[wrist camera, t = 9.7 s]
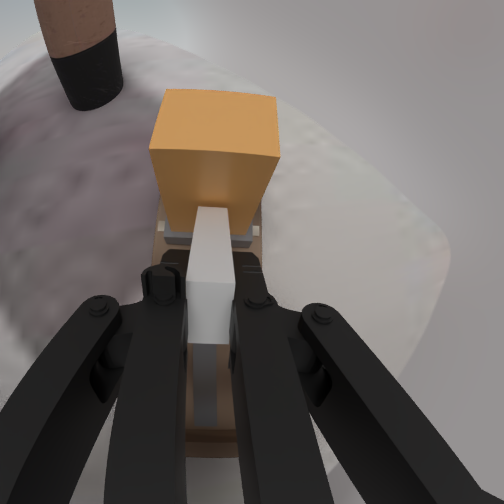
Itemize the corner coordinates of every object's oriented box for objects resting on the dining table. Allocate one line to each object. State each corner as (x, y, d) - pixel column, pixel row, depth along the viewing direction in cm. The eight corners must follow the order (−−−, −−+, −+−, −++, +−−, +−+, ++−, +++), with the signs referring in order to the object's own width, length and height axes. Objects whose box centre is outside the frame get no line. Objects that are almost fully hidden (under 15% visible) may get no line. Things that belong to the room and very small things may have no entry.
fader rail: (256, 432, 18) (269, 455, 14) (156, 430, 17) (145, 453, 13) (256, 168, 25) (266, 138, 20) (170, 163, 23) (165, 132, 19)
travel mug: (60, 116, 23) (11, -18, 4) (81, 78, 25) (54, -41, 6) (116, 108, 24) (86, -51, 5) (132, 70, 26) (121, -63, 7)
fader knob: (249, 247, 20) (293, 167, 10) (166, 243, 19) (134, 157, 9) (249, 194, 21) (285, 93, 11) (172, 189, 20) (157, 84, 10)
